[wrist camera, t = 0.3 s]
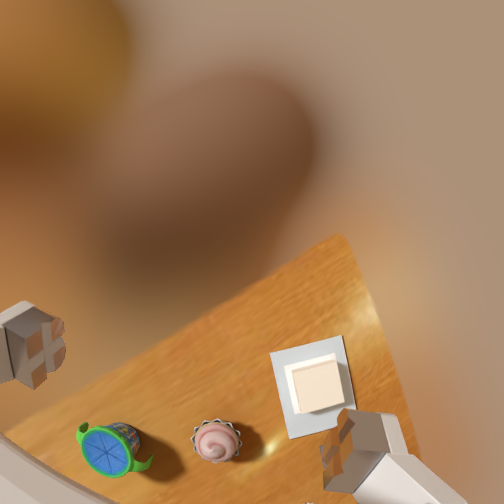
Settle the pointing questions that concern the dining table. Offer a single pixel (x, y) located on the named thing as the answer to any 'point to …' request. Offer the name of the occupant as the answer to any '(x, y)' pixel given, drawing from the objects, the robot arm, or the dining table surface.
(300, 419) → the light grey flat slab
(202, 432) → the cupcake
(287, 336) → the dining table surface
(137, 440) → the snack cup
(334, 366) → the cream base block
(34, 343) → the robot arm
